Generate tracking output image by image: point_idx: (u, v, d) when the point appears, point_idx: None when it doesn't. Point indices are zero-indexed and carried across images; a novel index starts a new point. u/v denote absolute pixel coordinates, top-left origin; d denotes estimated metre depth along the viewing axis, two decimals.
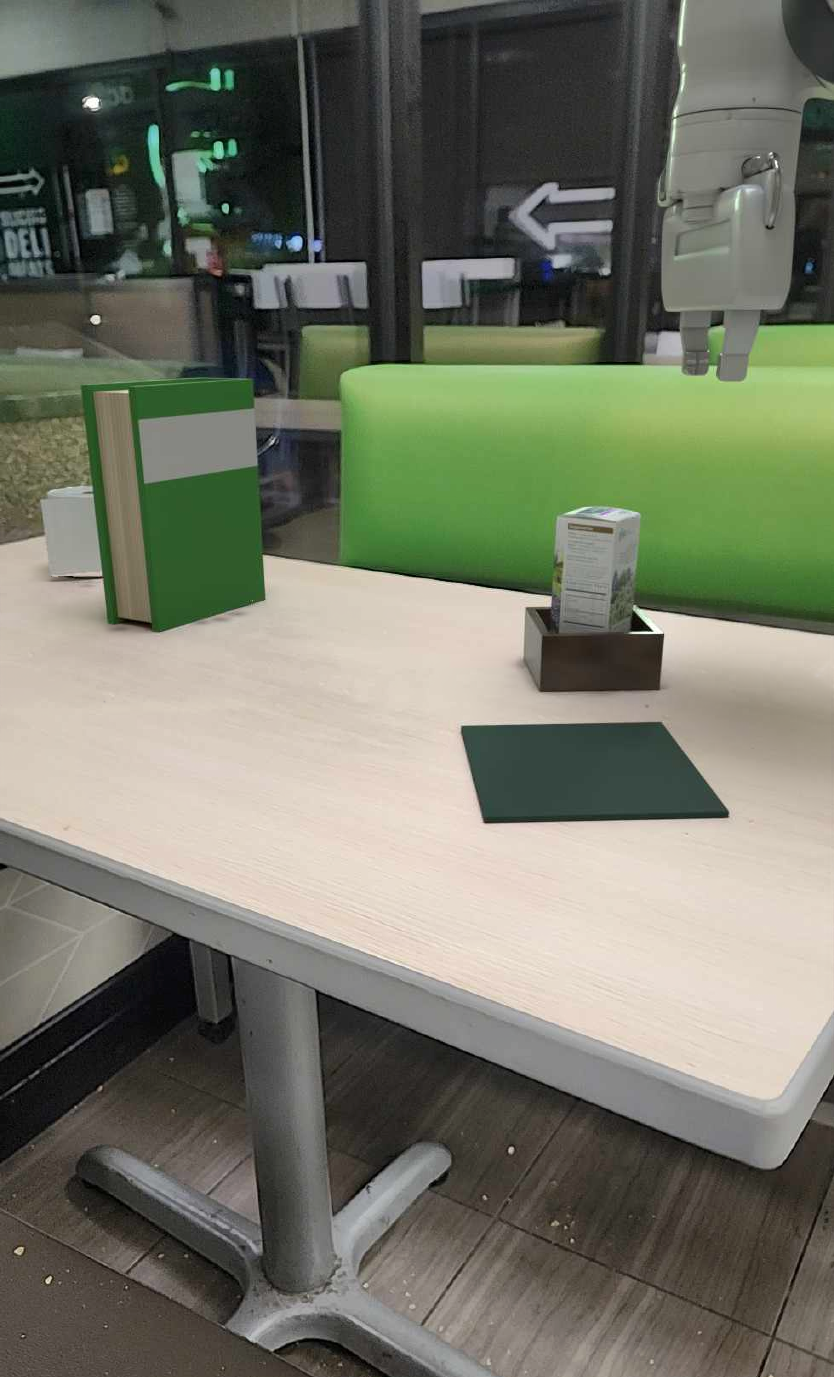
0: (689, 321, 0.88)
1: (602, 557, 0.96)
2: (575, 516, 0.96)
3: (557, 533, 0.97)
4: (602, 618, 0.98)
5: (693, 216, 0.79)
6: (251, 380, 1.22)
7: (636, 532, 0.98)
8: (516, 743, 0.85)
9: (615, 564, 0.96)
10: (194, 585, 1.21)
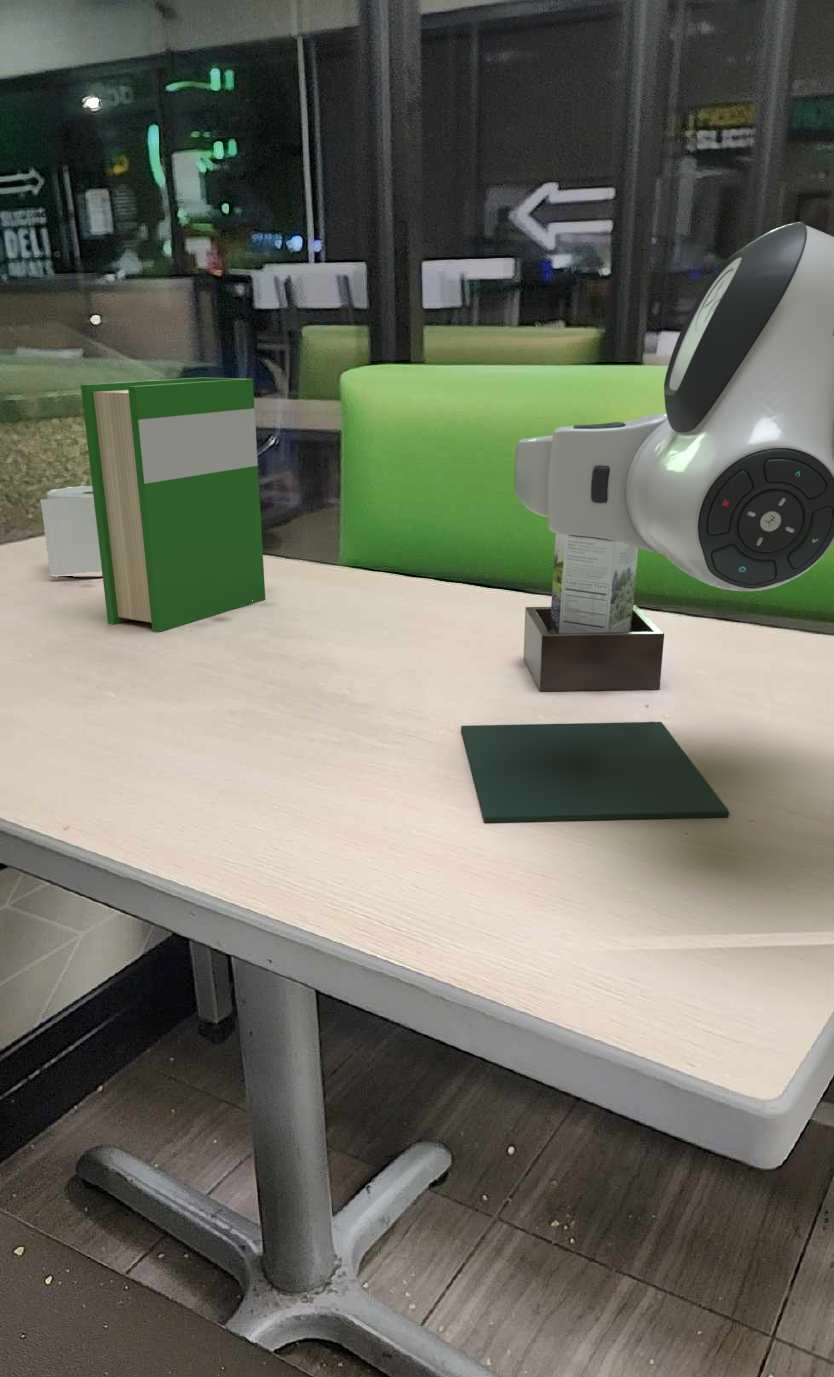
0: None
1: (602, 557, 0.96)
2: None
3: None
4: (602, 618, 0.98)
5: None
6: (251, 380, 1.22)
7: None
8: (516, 743, 0.85)
9: (616, 564, 0.96)
10: (194, 585, 1.21)
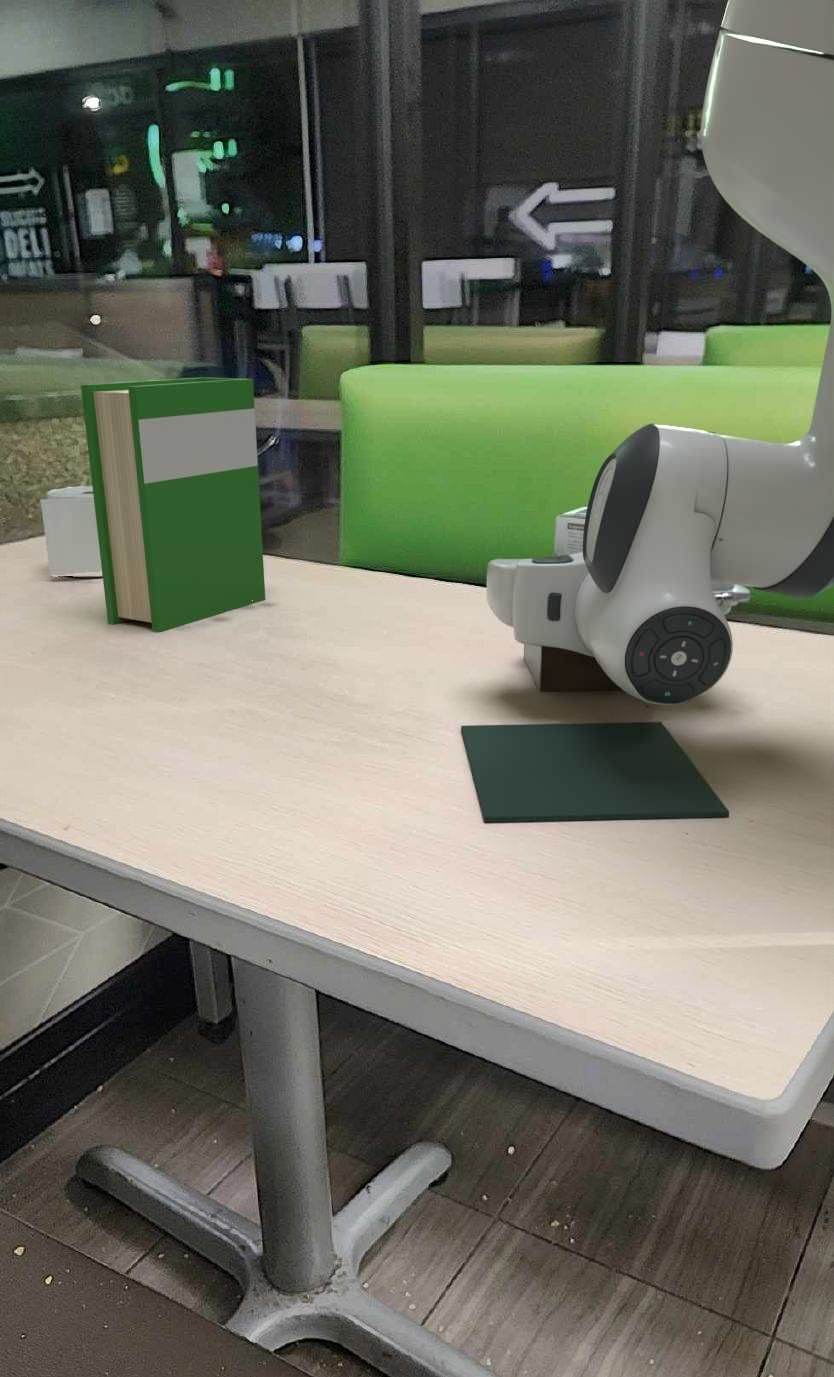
0: None
1: None
2: (574, 516, 0.96)
3: (557, 533, 0.97)
4: None
5: None
6: (251, 380, 1.22)
7: None
8: (516, 743, 0.85)
9: None
10: (194, 585, 1.21)
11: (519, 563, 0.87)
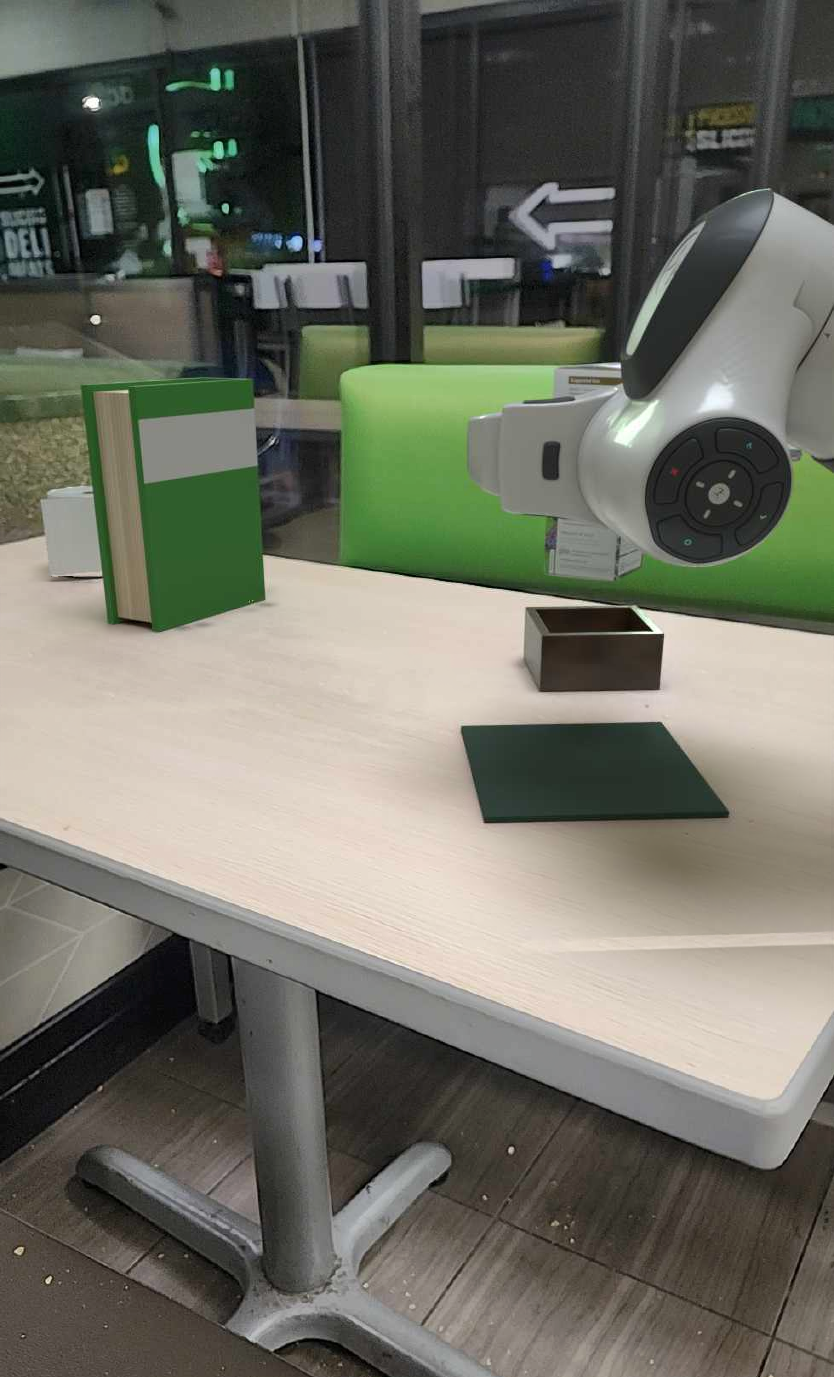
0: None
1: None
2: (577, 366, 0.77)
3: (555, 390, 0.78)
4: None
5: None
6: (251, 380, 1.22)
7: None
8: (516, 743, 0.85)
9: None
10: (194, 585, 1.21)
11: (506, 405, 0.67)
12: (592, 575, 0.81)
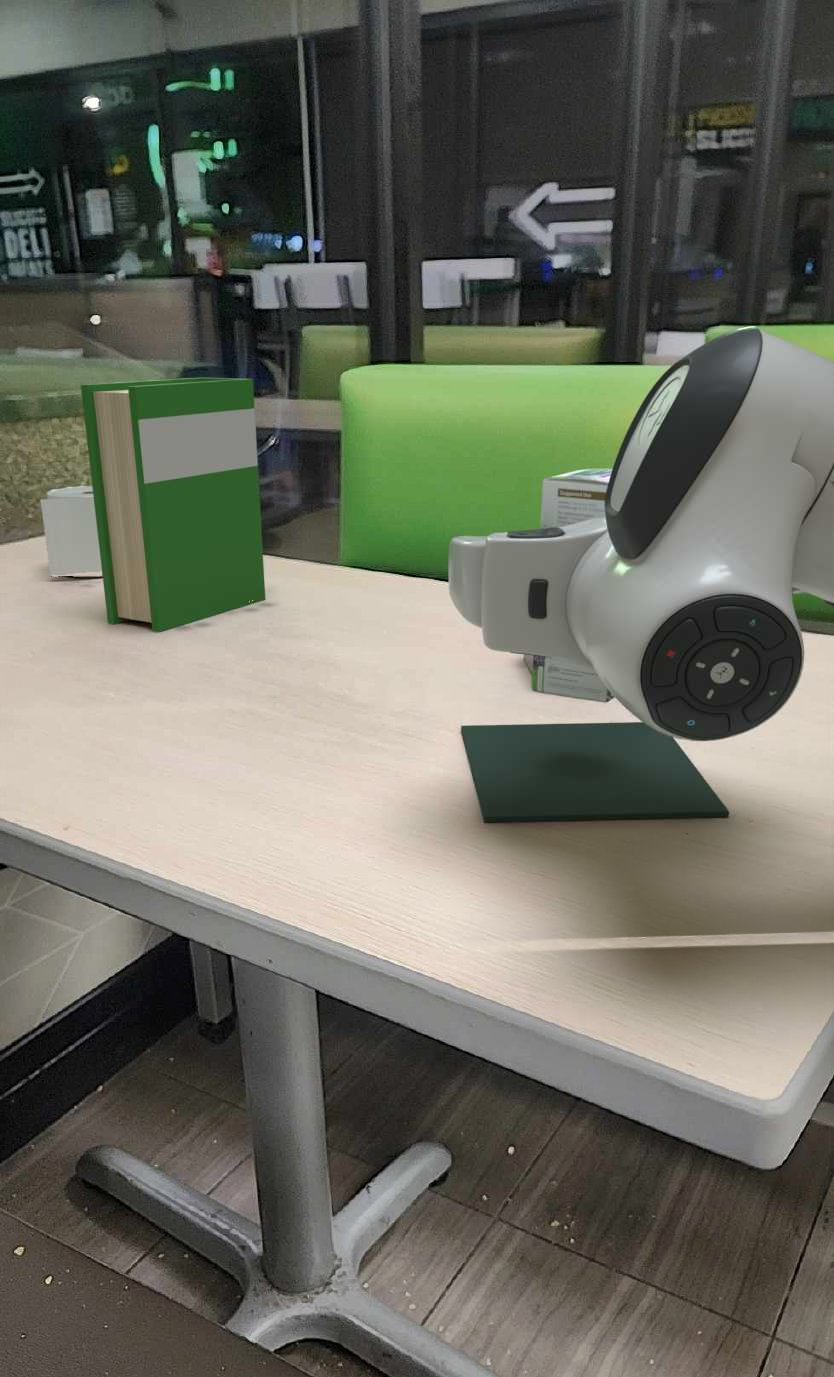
0: None
1: None
2: (567, 479, 0.71)
3: (543, 502, 0.73)
4: None
5: None
6: (251, 380, 1.22)
7: None
8: (516, 743, 0.85)
9: None
10: (194, 585, 1.21)
11: (489, 538, 0.62)
12: (583, 695, 0.76)
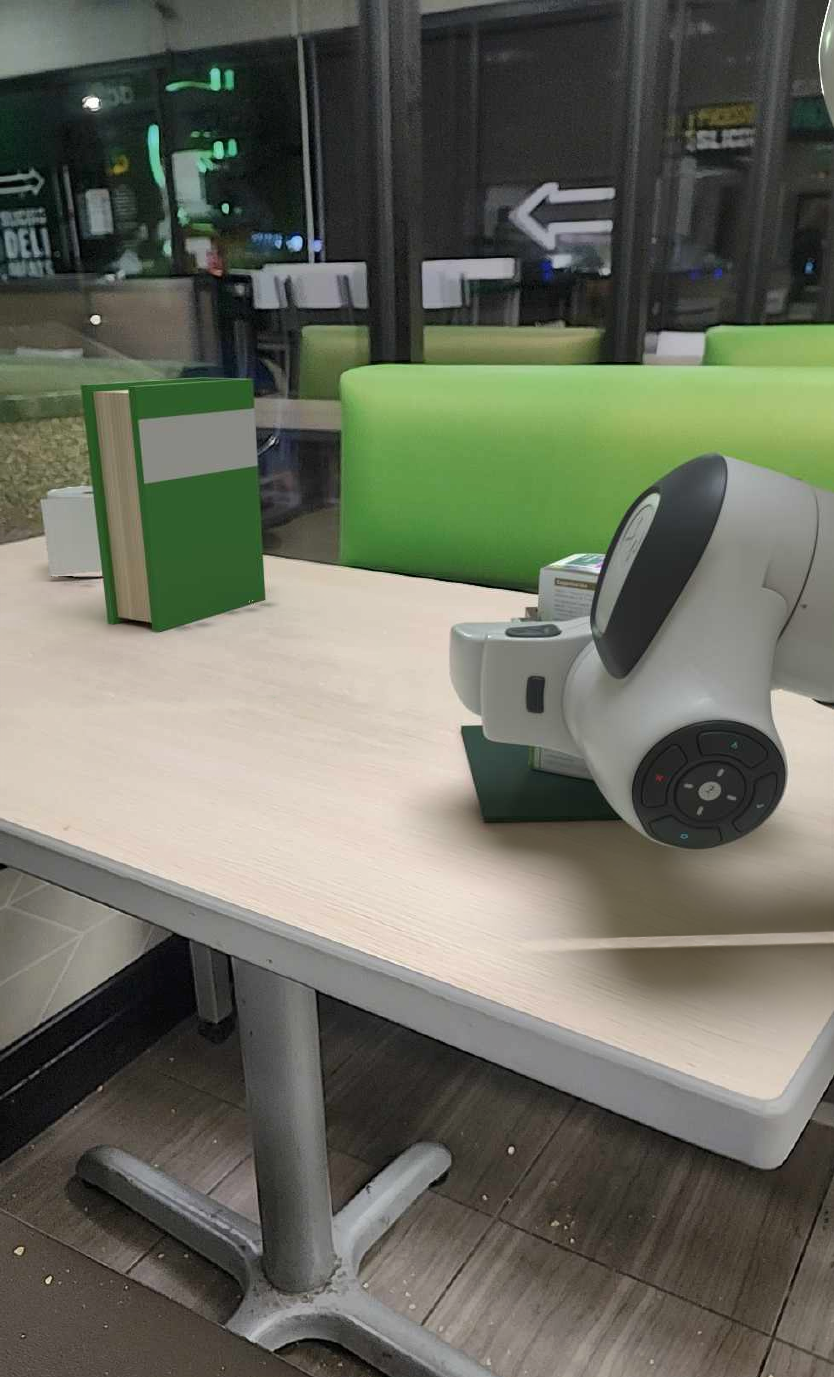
0: None
1: None
2: (564, 569, 0.74)
3: (541, 590, 0.75)
4: None
5: None
6: (251, 380, 1.22)
7: None
8: None
9: None
10: (194, 585, 1.21)
11: (488, 636, 0.64)
12: (579, 774, 0.78)
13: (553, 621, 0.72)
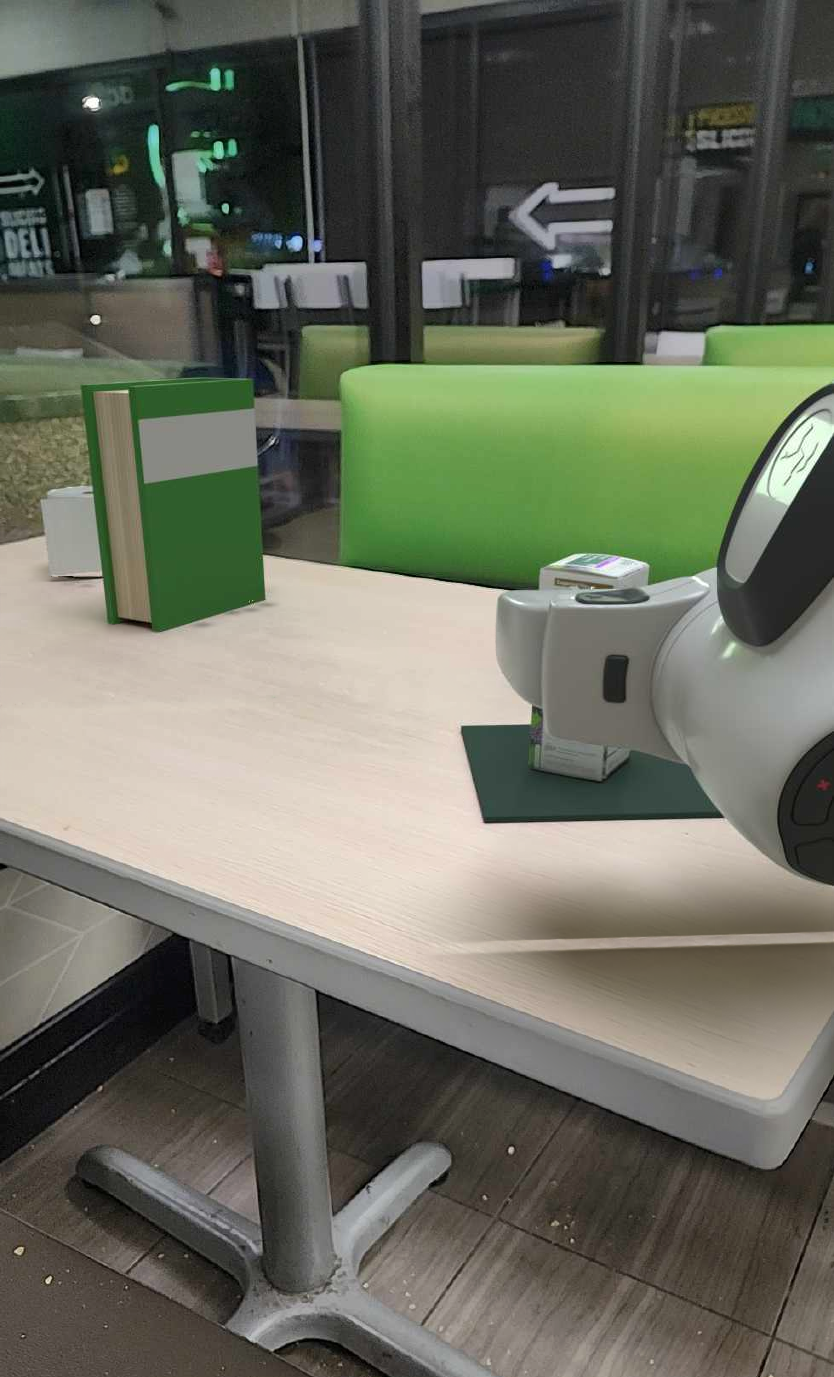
0: None
1: None
2: (564, 569, 0.74)
3: None
4: None
5: None
6: (251, 380, 1.22)
7: None
8: (516, 743, 0.85)
9: None
10: (194, 585, 1.21)
11: (554, 603, 0.50)
12: (579, 774, 0.78)
13: None
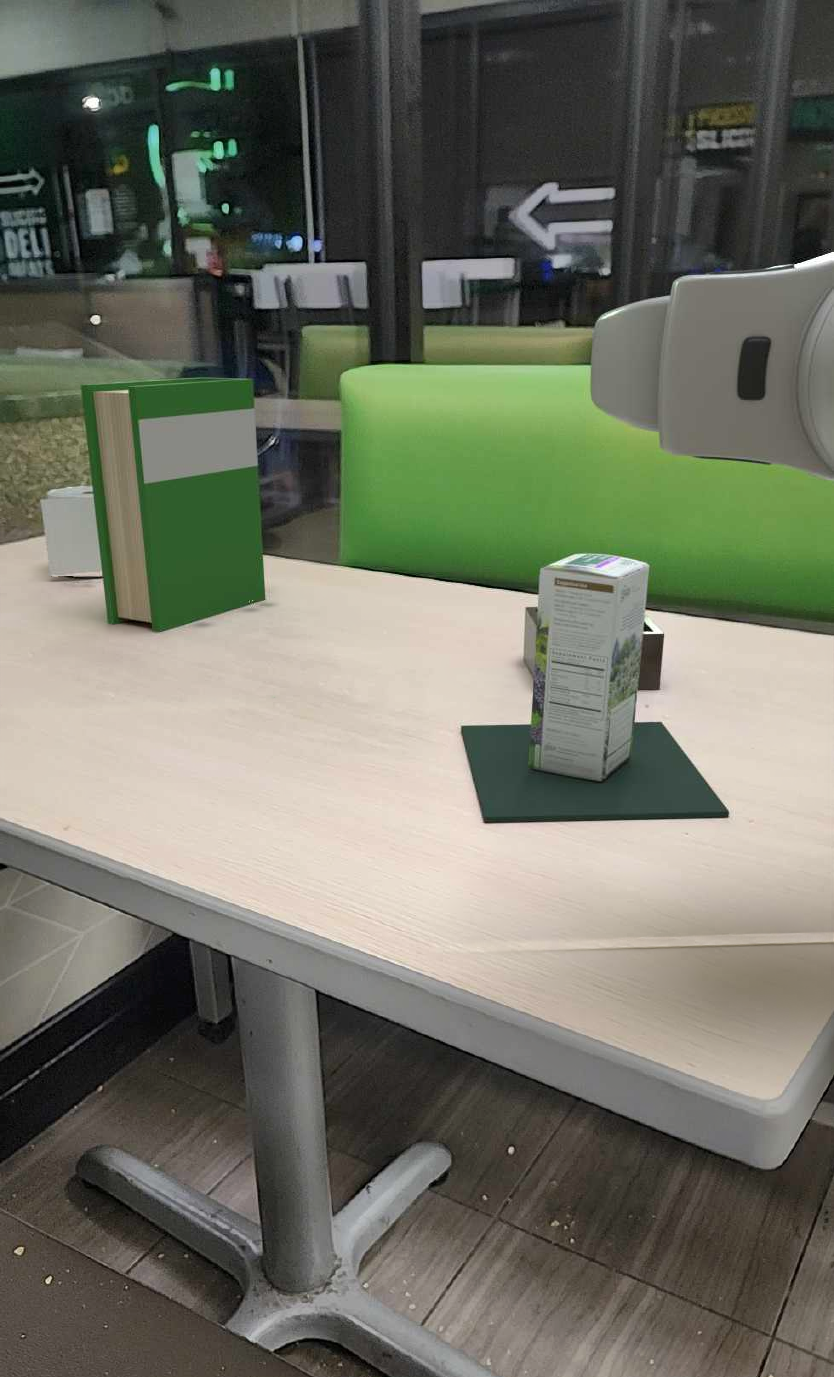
0: None
1: (599, 622, 0.74)
2: (564, 569, 0.74)
3: (541, 590, 0.75)
4: (599, 699, 0.75)
5: None
6: (251, 380, 1.22)
7: (643, 588, 0.76)
8: (516, 743, 0.85)
9: (616, 632, 0.74)
10: (194, 585, 1.21)
11: (680, 278, 0.42)
12: (579, 774, 0.78)
13: None
